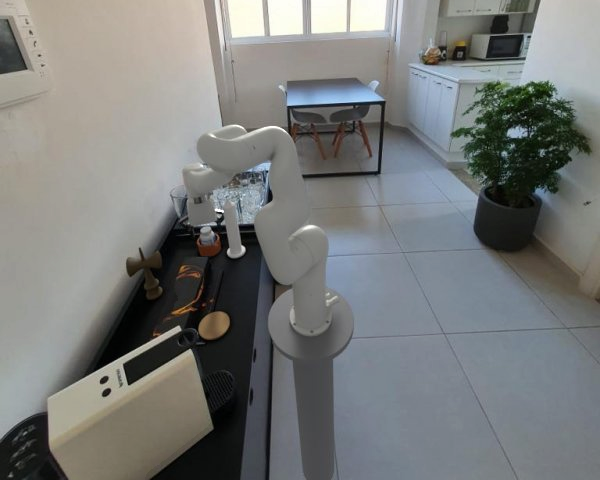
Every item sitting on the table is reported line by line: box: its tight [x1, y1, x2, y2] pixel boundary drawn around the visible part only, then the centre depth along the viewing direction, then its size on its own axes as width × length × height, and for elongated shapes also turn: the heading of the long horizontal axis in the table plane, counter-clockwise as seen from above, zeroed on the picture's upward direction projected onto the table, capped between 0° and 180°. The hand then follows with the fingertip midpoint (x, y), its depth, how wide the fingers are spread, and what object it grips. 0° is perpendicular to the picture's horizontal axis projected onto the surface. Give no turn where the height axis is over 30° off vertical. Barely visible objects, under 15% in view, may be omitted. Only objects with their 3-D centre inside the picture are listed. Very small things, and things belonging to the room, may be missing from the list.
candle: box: [221, 196, 246, 259], centre depth 116 cm, size 7×7×25 cm
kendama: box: [125, 246, 163, 301], centre depth 100 cm, size 6×10×20 cm, turn 110°
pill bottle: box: [199, 225, 216, 246], centre depth 121 cm, size 6×5×10 cm
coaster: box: [198, 311, 231, 341], centre depth 92 cm, size 9×9×1 cm
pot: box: [196, 232, 222, 258], centre depth 122 cm, size 8×8×5 cm
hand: (206, 234), depth 120 cm, fingers open, 9 cm apart
